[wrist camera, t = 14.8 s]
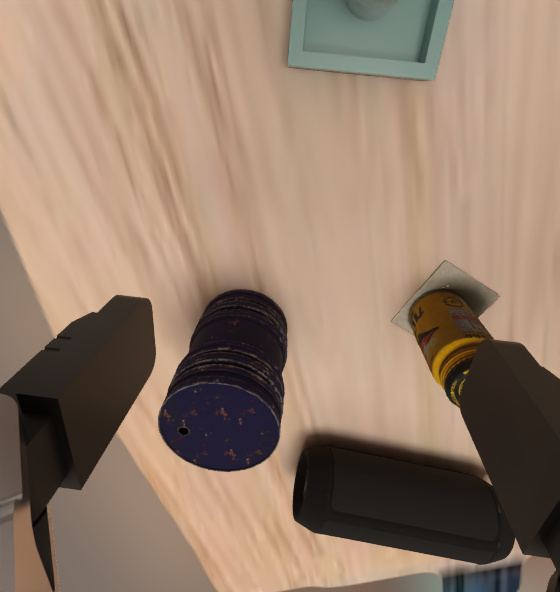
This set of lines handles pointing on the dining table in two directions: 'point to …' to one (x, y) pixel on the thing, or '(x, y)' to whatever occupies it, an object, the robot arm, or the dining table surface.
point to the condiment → (448, 324)
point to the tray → (369, 39)
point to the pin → (370, 8)
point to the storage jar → (229, 385)
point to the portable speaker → (400, 505)
